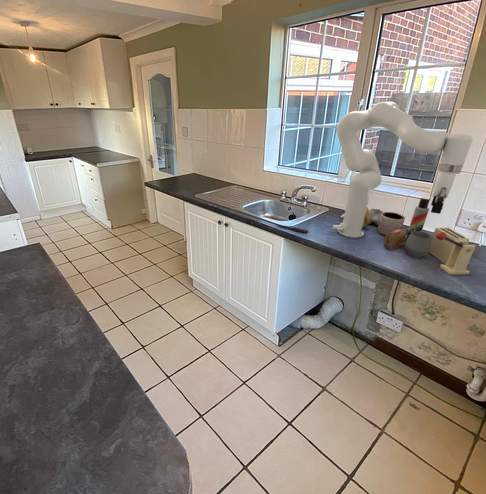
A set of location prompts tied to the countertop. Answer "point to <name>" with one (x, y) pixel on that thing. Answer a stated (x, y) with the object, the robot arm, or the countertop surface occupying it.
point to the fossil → (375, 216)
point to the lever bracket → (459, 259)
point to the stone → (366, 218)
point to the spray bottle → (419, 216)
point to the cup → (418, 244)
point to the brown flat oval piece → (395, 238)
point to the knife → (295, 229)
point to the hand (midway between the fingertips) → (435, 209)
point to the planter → (390, 222)
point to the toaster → (444, 243)
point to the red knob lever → (448, 239)
